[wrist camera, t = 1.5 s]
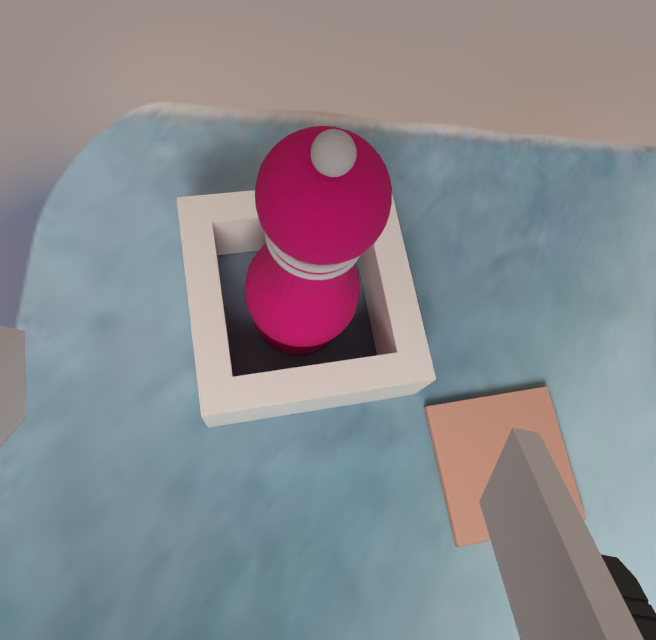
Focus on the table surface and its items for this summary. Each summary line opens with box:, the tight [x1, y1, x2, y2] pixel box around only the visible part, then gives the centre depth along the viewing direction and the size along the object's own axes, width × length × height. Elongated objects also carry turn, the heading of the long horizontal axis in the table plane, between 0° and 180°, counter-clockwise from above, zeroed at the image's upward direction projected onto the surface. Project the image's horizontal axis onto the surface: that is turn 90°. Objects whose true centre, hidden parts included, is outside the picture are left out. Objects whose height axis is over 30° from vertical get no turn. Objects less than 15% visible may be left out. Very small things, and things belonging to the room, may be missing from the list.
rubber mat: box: [424, 386, 586, 547], centre depth 38 cm, size 9×9×1 cm
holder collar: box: [177, 190, 436, 428], centre depth 37 cm, size 14×14×5 cm
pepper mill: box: [245, 126, 392, 355], centre depth 30 cm, size 7×7×20 cm
